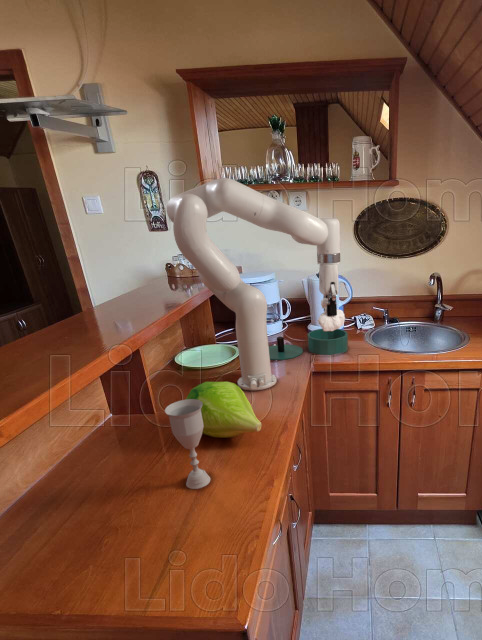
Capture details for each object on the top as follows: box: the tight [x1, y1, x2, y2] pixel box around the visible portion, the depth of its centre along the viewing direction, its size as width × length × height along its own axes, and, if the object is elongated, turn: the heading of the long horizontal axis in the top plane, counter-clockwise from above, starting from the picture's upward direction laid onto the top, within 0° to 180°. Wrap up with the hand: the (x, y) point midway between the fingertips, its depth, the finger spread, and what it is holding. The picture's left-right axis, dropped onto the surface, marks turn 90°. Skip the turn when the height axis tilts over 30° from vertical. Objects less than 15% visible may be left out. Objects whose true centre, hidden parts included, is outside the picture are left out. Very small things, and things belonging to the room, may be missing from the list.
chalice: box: [164, 398, 211, 490], centre depth 87 cm, size 7×7×18 cm
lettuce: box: [185, 381, 263, 439], centre depth 106 cm, size 15×22×15 cm
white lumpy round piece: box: [317, 298, 346, 331], centre depth 144 cm, size 12×8×11 cm
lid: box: [269, 336, 304, 361], centre depth 162 cm, size 17×17×7 cm
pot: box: [306, 328, 349, 356], centre depth 165 cm, size 16×16×6 cm
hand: (330, 313), depth 144 cm, fingers closed on white lumpy round piece, 5 cm apart
